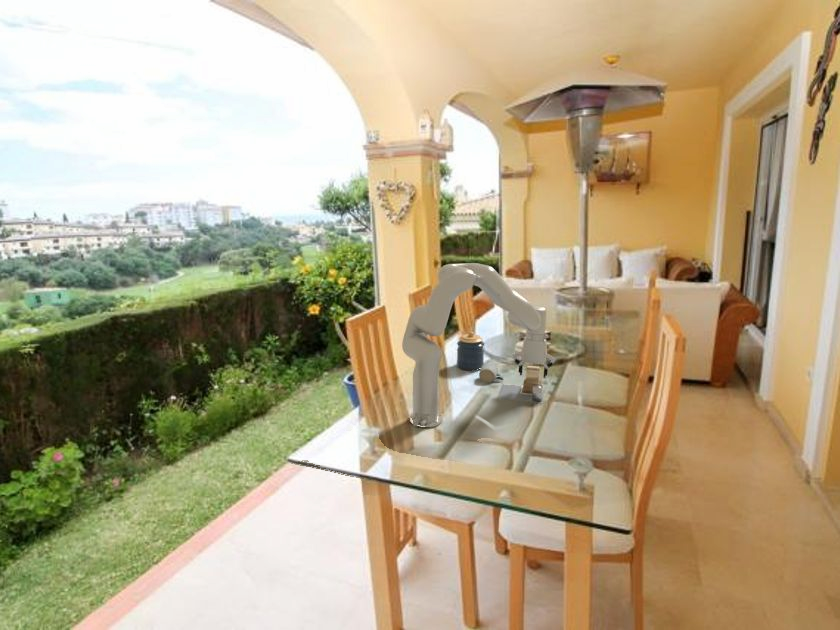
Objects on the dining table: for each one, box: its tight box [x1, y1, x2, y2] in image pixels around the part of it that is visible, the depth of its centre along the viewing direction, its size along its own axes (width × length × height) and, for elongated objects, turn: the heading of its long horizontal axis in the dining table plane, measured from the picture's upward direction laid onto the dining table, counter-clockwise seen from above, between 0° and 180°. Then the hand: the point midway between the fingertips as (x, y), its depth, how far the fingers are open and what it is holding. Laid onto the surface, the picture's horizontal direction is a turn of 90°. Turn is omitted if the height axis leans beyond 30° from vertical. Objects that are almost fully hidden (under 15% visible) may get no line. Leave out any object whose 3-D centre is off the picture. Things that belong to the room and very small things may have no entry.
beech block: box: [525, 365, 540, 384], centre depth 203 cm, size 5×5×6 cm
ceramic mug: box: [478, 361, 502, 383], centre depth 216 cm, size 11×8×8 cm
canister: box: [456, 331, 485, 372], centre depth 233 cm, size 13×13×18 cm
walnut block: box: [522, 377, 543, 394], centre depth 204 cm, size 7×7×4 cm
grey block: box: [532, 384, 544, 402], centre depth 195 cm, size 4×4×6 cm
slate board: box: [496, 384, 545, 405], centre depth 203 cm, size 18×18×1 cm
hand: (532, 375), depth 203 cm, fingers open, 9 cm apart
